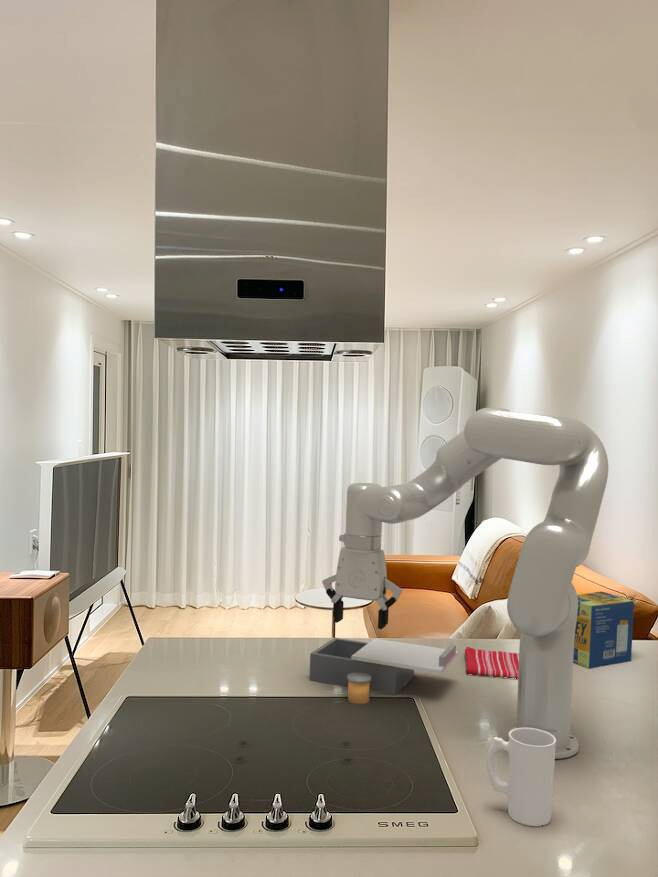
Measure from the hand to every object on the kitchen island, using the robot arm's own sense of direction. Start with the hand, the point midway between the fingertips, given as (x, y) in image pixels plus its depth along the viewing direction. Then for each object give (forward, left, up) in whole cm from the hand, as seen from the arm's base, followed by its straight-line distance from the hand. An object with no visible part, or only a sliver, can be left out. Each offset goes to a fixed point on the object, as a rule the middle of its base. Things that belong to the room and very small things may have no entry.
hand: (360, 624), depth 158 cm
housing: (+13, +4, -16) cm, 21 cm away
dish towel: (+37, -26, -17) cm, 48 cm away
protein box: (+54, -43, -16) cm, 71 cm away
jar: (0, 0, -16) cm, 16 cm away
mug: (-32, -38, -16) cm, 52 cm away
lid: (+13, -6, -10) cm, 17 cm away
